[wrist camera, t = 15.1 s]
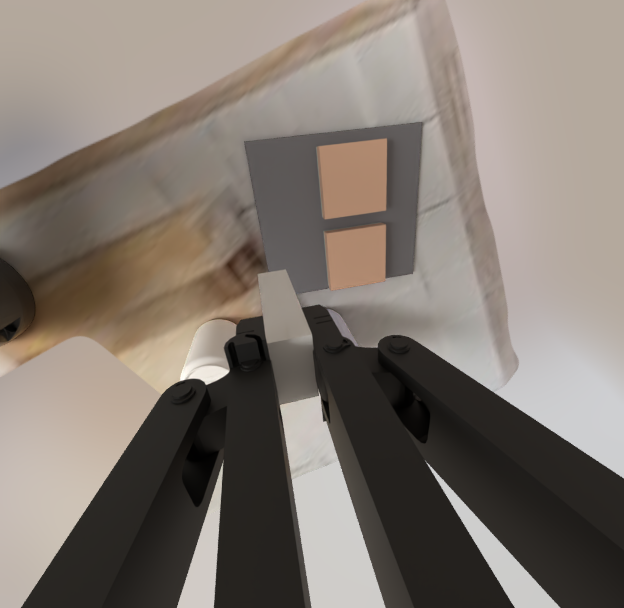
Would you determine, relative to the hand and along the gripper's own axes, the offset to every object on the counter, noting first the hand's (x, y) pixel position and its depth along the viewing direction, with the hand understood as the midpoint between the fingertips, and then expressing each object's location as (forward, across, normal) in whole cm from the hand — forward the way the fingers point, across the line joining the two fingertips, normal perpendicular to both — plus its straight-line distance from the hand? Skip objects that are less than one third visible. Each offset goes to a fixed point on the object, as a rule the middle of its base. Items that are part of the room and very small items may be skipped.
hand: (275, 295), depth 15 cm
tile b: (+26, +9, -8) cm, 29 cm away
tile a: (+26, +9, +3) cm, 28 cm away
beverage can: (+29, -10, -19) cm, 36 cm away
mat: (+28, +12, -2) cm, 31 cm away
